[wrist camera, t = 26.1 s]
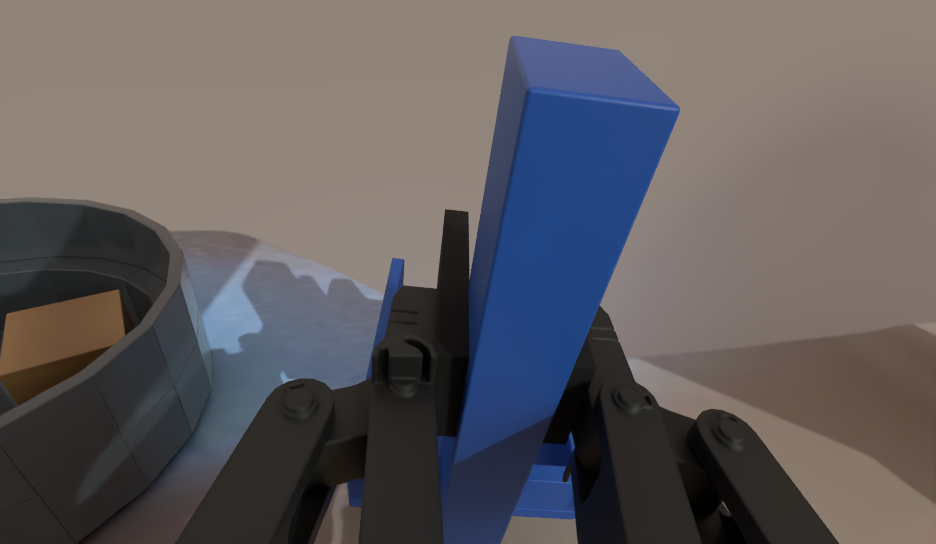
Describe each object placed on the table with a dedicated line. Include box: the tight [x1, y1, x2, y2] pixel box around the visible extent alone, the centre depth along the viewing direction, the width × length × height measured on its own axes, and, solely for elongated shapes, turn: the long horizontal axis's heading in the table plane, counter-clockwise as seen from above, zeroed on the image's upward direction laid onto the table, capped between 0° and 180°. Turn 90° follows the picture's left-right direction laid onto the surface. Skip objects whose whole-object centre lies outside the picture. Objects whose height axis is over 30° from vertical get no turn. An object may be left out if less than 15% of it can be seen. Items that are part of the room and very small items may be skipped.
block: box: [0, 289, 135, 406], centre depth 20 cm, size 4×4×4 cm
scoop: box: [348, 36, 680, 544], centre depth 15 cm, size 12×8×15 cm, turn 1°
